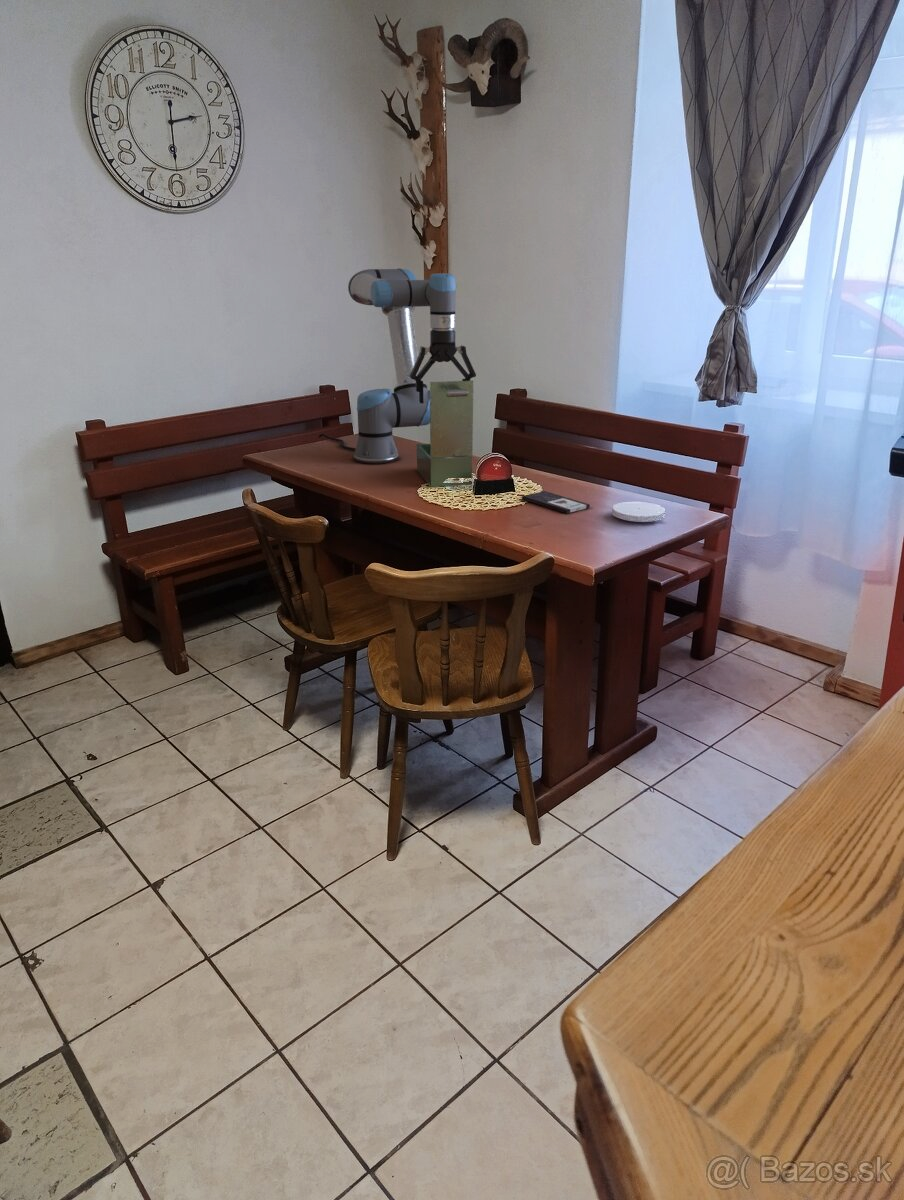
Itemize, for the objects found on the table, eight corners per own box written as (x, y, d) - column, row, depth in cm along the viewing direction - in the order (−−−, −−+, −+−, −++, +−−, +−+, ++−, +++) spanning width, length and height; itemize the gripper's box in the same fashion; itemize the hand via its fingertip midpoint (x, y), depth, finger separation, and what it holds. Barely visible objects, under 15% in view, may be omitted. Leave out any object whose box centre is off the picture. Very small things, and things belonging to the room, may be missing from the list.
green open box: (417, 470, 267) (416, 444, 264) (455, 468, 270) (455, 442, 267) (431, 487, 248) (430, 458, 245) (471, 484, 251) (472, 456, 247)
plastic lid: (601, 513, 222) (602, 504, 221) (645, 508, 227) (646, 499, 226) (629, 528, 210) (630, 518, 209) (675, 522, 215) (676, 513, 214)
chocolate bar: (544, 490, 240) (589, 504, 227) (544, 494, 240) (589, 507, 227) (522, 496, 235) (566, 510, 222) (522, 499, 235) (566, 513, 222)
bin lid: (429, 382, 236) (435, 386, 229) (472, 380, 238) (479, 384, 232) (430, 457, 245) (435, 463, 238) (471, 454, 248) (478, 461, 241)
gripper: (403, 331, 235) (405, 405, 244) (486, 329, 241) (485, 402, 249) (399, 329, 242) (400, 401, 251) (479, 327, 248) (478, 398, 256)
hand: (443, 401), depth 250 cm, fingers open, 13 cm apart
